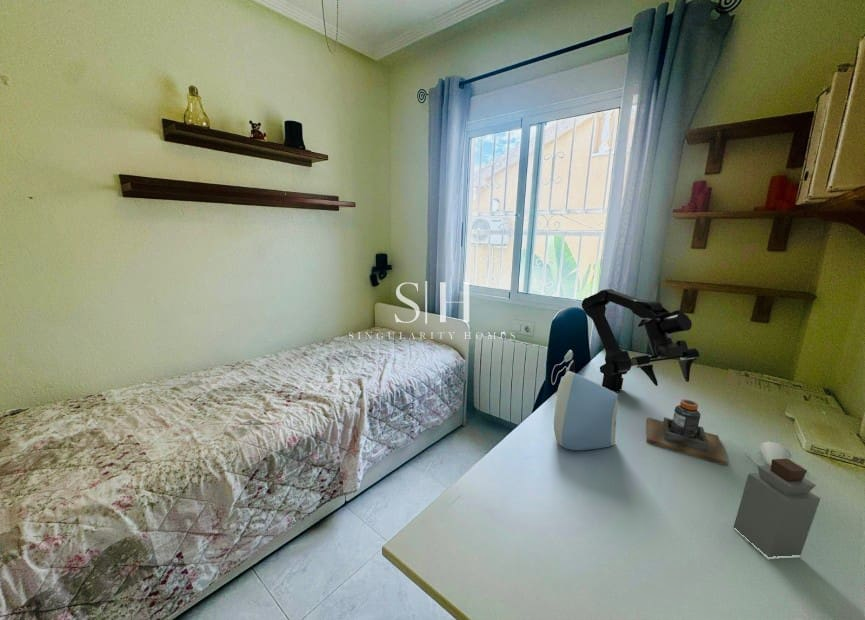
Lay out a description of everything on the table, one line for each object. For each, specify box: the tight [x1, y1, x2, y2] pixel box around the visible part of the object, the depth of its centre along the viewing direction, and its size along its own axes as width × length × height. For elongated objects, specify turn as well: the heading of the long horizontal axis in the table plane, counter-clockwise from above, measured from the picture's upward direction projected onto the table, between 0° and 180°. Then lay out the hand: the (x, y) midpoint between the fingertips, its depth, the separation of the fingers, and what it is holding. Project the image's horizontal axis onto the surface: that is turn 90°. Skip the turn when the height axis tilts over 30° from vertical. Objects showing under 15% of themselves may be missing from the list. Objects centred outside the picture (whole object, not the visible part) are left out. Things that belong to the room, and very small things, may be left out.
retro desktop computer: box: [550, 349, 619, 451], centre depth 96 cm, size 25×23×17 cm
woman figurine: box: [744, 440, 808, 478], centre depth 87 cm, size 12×4×18 cm
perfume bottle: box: [733, 459, 821, 557], centre depth 63 cm, size 7×7×18 cm
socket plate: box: [645, 416, 728, 467], centre depth 97 cm, size 18×14×4 cm
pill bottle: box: [671, 398, 701, 439], centre depth 96 cm, size 6×6×11 cm
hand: (672, 383), depth 107 cm, fingers open, 9 cm apart
